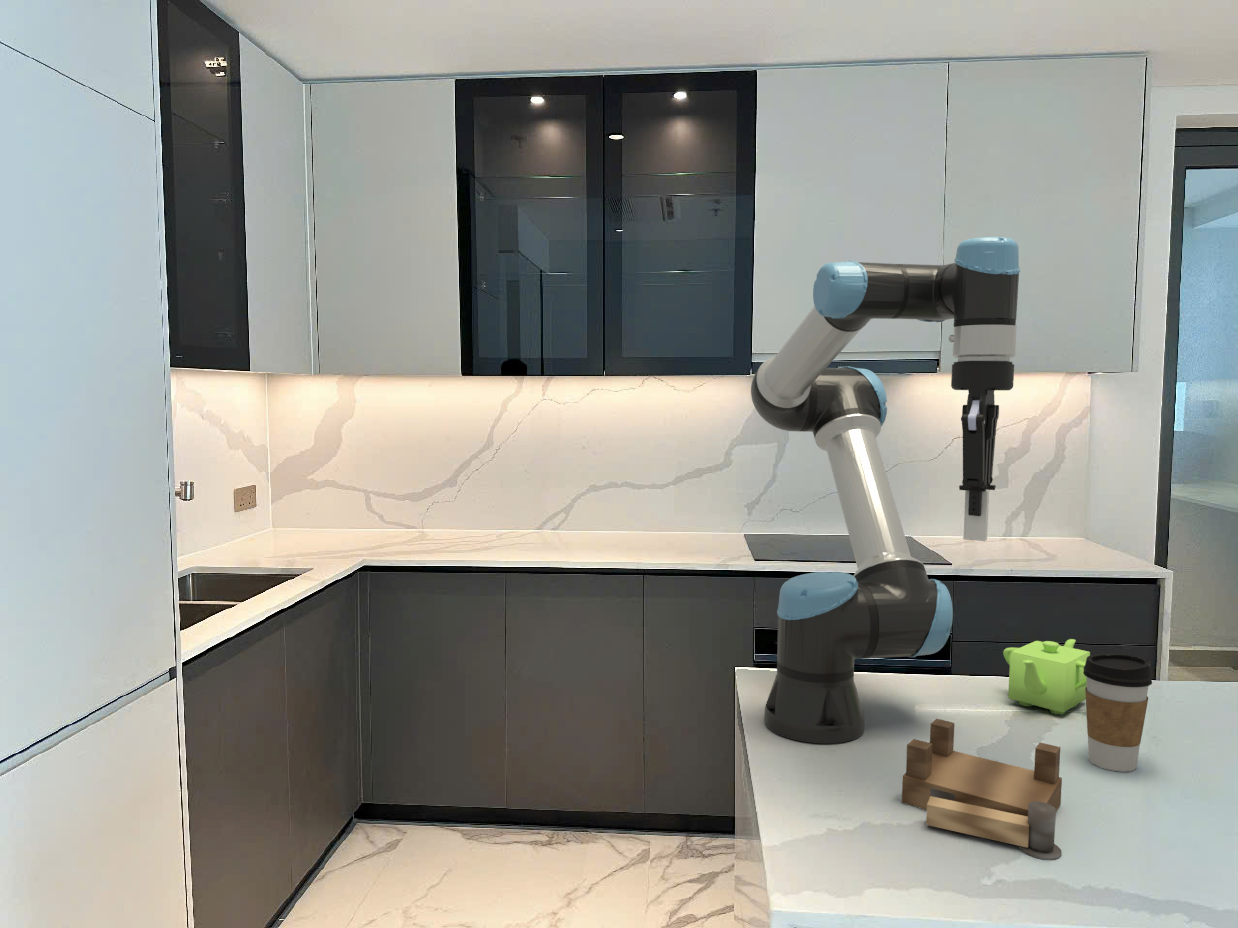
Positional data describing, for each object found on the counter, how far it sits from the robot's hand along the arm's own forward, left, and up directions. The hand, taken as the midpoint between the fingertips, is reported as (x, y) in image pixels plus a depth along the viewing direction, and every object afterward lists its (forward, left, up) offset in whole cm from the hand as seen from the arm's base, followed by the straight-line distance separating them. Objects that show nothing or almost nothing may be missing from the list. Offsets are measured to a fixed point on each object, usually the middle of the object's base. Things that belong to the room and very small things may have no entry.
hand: (975, 539), depth 117 cm
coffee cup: (+15, +17, -33) cm, 40 cm away
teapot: (+3, +37, -33) cm, 50 cm away
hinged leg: (+7, -16, -32) cm, 36 cm away
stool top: (+5, -9, -32) cm, 34 cm away
